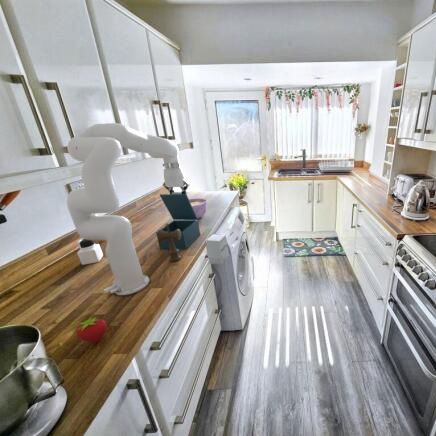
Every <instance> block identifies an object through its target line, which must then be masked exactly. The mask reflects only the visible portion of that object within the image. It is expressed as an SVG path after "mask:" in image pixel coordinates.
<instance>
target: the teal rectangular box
mask: <svg viewBox="0 0 436 436" xmlns="http://www.w3.org/2000/svg"><path fill="white" fill-rule="evenodd" d="M167 224H168V227H169V230H170V232H173V231H175V230H177V229H180V231H181V239H180V240H175V239H173V238H172V240H173V243H174V245H175V247H176V249H178V250H187V249H188V248H189V247H190V246H191V245H193V243H194V242H195V241H196V240H197V239H198V238H199V237H201V230H200V226H199V220H198V219H197V220H173V219H172V220H171V221H170V222H169V223H167ZM160 229H161V230H163V231H165V232H168V231H167V227H166V225H164V226H163V227H162V228H160ZM157 232H158V230H157V231H156V232H155V234H156V236H157ZM157 242H158V246H159V249H160V250H170V244H169V238H167V239H165V240H163V241H162V242H159V241H158V240H157Z"/></svg>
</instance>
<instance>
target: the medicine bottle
mask: <svg viewBox="0 0 436 436" xmlns="http://www.w3.org/2000/svg"><path fill="white" fill-rule="evenodd" d="M77 245H78V247H79V250H78V251H77V252H76V254H77V257H78V259H79V261H80V264H81V265H82V266H85V265H90V264H95V263H99V262H100V261H101V259H102V258H103V257H104V254H103V250H102V248H101V245H100V243H96V242H95V240H87V239H84V238H81V239H79V240H78V241H77Z"/></svg>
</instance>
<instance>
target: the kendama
mask: <svg viewBox="0 0 436 436" xmlns="http://www.w3.org/2000/svg"><path fill="white" fill-rule="evenodd" d="M168 224H169V223H167V222H166V223H165V226H166V227H167V231H168V232H165V231H163V230H161V229H162V228H160V229H157V231H158V232H157V231H156V232H157V235H156V239H157V242H158V241H159V242H162V241H163V240H165V239H167V238H169V244H170V249H169V251H168V254H169V262H178V261H179V260H181V258H182V256H181V255H179V251H180V249H176V247H175V245H174V243H173V240H172V238H173V239H175V240H180V239H181V231H180V229H177V230H175V231H173V232H170V230H169V227H168ZM159 242H158V243H159Z"/></svg>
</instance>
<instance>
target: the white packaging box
mask: <svg viewBox="0 0 436 436" xmlns="http://www.w3.org/2000/svg"><path fill="white" fill-rule="evenodd" d="M204 241H205V242H204V243H205V248H206V249H205V250H206V253H207V254H206V255H207V259H208V264H209V265H220V266H221V265H224V264H225V262H226V261H227V260H228V259H229V258H230V255H229V247H228V241H227V235H226V234H215V233H214V234H211V235H210V236H209V237H207V238H206V240H204Z"/></svg>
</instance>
